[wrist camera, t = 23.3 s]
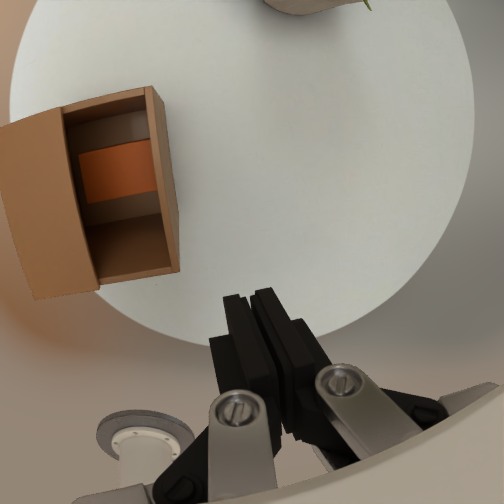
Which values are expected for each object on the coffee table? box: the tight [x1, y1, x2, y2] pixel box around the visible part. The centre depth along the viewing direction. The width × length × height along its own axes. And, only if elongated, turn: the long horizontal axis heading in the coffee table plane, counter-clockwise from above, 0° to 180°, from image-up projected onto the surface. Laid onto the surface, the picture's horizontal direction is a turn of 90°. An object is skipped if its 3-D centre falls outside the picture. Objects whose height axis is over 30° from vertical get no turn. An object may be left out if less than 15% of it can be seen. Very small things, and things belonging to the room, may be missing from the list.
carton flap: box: [0, 107, 100, 300], centre depth 17 cm, size 12×5×1 cm, turn 5°
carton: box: [62, 86, 180, 285], centre depth 24 cm, size 12×11×14 cm
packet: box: [78, 138, 157, 204], centre depth 29 cm, size 8×5×3 cm, turn 95°
